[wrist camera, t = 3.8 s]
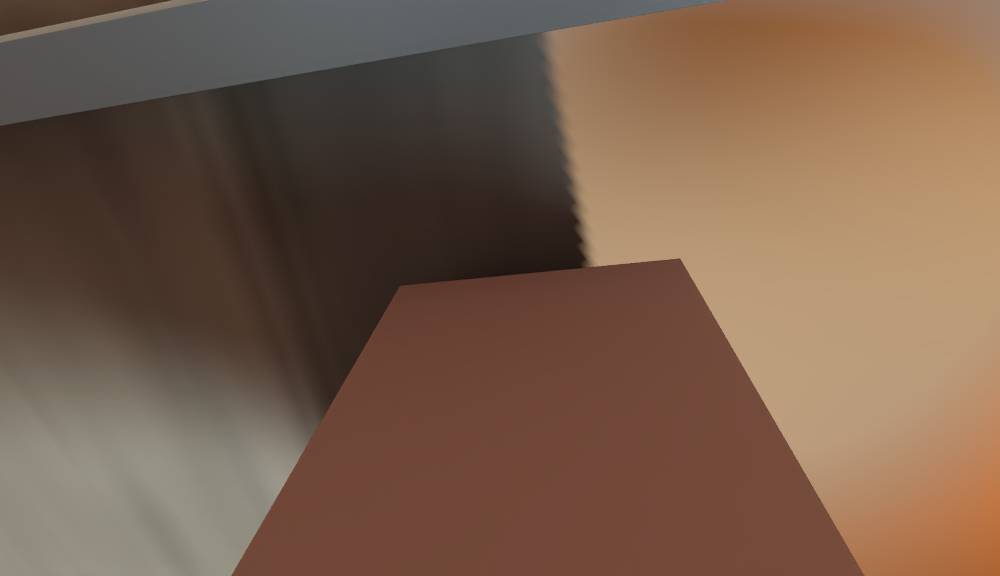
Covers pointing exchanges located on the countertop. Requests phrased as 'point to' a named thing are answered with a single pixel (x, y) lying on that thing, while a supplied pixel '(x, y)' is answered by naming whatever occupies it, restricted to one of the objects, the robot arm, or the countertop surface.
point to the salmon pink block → (549, 443)
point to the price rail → (256, 44)
